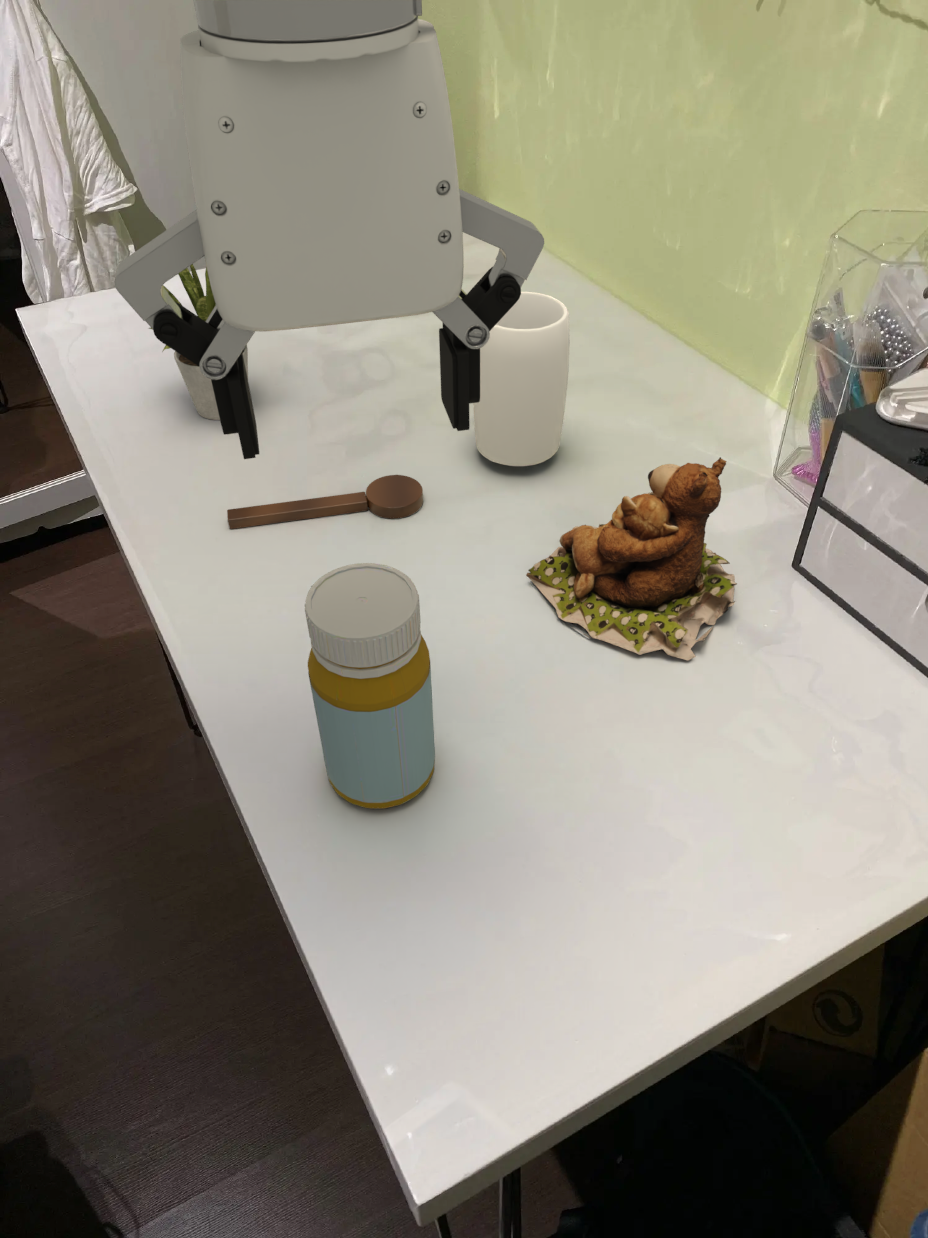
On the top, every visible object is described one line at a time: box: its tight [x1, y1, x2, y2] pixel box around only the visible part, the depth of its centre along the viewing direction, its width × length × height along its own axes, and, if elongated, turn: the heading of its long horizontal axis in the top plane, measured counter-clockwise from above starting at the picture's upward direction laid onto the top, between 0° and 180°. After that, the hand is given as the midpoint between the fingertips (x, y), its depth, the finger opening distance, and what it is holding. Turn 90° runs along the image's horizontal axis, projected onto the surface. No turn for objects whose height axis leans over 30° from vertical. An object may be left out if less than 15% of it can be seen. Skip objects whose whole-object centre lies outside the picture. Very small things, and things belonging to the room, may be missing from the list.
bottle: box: [304, 562, 436, 809], centre depth 54 cm, size 7×7×15 cm
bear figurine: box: [525, 456, 738, 661], centre depth 67 cm, size 14×15×12 cm
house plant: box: [148, 263, 249, 421], centre depth 88 cm, size 14×14×16 cm
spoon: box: [226, 474, 424, 530], centre depth 79 cm, size 17×5×1 cm, turn 102°
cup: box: [472, 291, 571, 467], centre depth 81 cm, size 8×8×14 cm
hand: (354, 428), depth 42 cm, fingers open, 9 cm apart
